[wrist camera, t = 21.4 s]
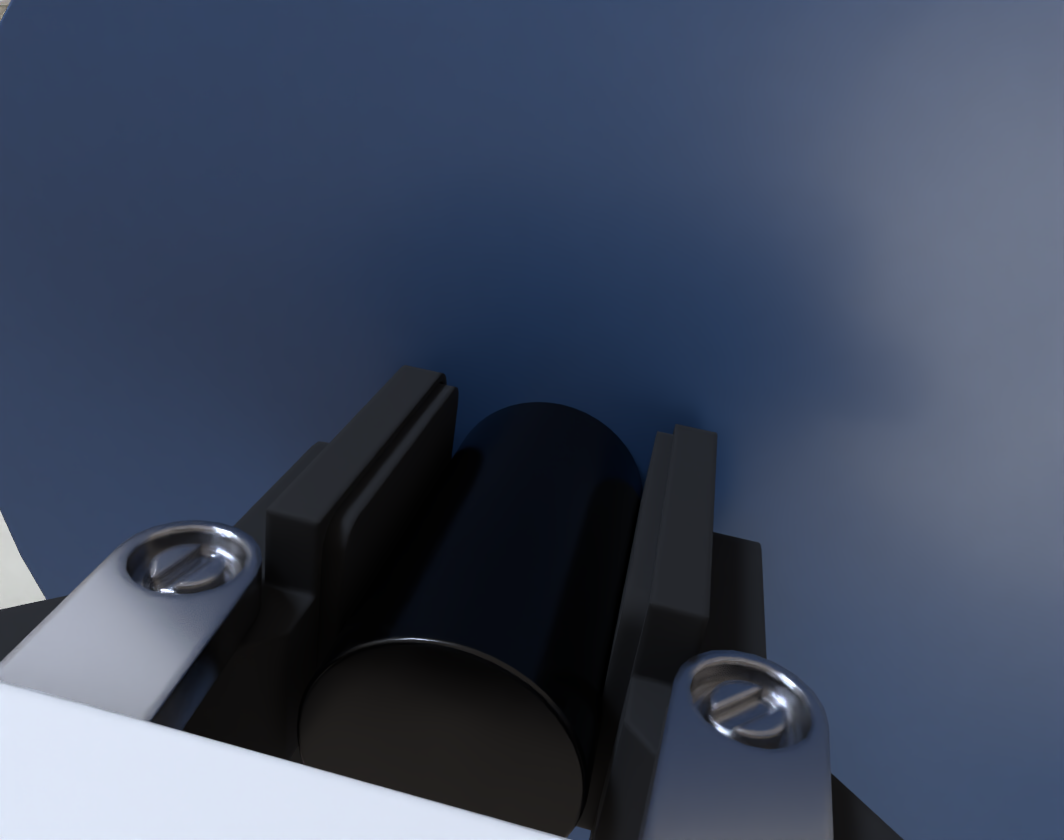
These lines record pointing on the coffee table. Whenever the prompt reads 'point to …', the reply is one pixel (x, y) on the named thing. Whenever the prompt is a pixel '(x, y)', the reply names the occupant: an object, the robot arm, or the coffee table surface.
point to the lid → (572, 350)
